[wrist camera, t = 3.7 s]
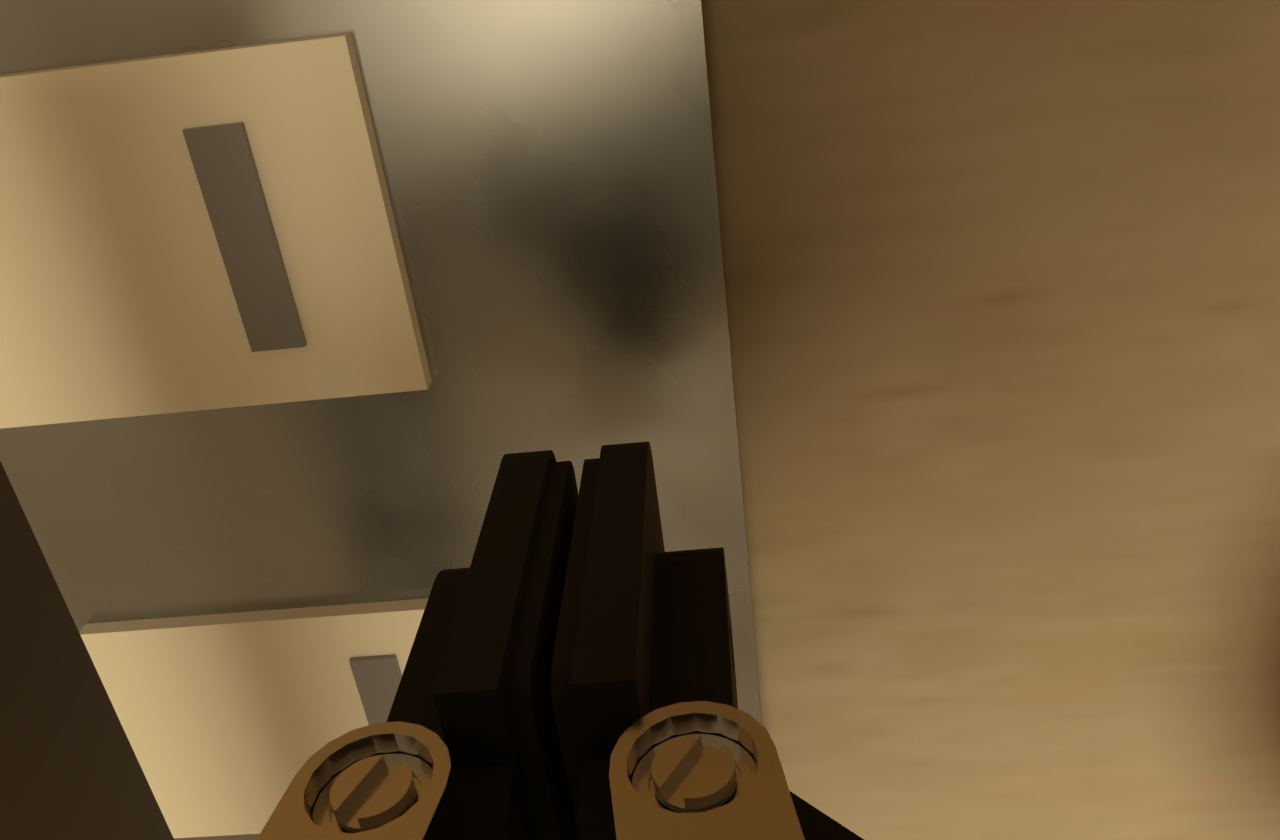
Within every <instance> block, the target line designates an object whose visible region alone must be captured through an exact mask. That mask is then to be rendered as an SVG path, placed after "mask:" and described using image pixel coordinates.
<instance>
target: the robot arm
mask: <svg viewBox="0 0 1280 840" xmlns="http://www.w3.org/2000/svg"><path fill="white" fill-rule="evenodd" d="M256 840H864V839H862V838H860V837H859V836H857V835H856V834H854V833H853V832H851V831H850V830H848V829H847V828H845V827H844V826H842V825H841V824H839V823H838V822H836V821H834V820H833V819H831V818H830V817H828V816H827V815H825V814H824V813H822V812H821V811H819V810H818V809H816V808H815V807H813V806H812V805H810V804H808V803H807V802H805V801H804V800H802V799H801V798H799V797H798V796H796V795H795V794H793V793H792V792H790V791H789V788H788V785H787V782H786V779H785V775H784V772H783V769H782V766H781V763H780V760H779V757H778V753H777V750H776V747H775V745H774V743H773V741H772V739H771V737H770V736H769V734H768V732H767V730H766V728H765V727H764V726H762V725H761V724H760V723H759V722H758V721H757V720H755V719H754V718H753V717H752V716H751V715H750V714H748V713H746V712H743V711H741V710H739V709H738V701H737V687H736V673H735V660H734V648H733V636H732V625H731V614H730V604H729V594H728V584H727V574H726V564H725V555H724V548H723V547H720V548H708V549H695V550H683V551H670V552H665V549H664V542H663V534H662V526H661V519H660V511H659V503H658V496H657V488H656V480H655V473H654V465H653V458H652V451H651V446H650V443H649V441H647V442H635V443H624V444H613V445H603V446H602V447H601V452H600V458H595V459H585V460H584V463H583V470H582V476H581V482H580V488H579V495H578V489H577V483H576V477H575V472H574V467H573V464H572V462H571V461H560V462H556V458H555V455H554V453H553V451H552V450H545V451H534V452H523V453H511V454H504V456H503V458H502V460H501V464H500V467H499V471H498V474H497V477H496V481H495V484H494V487H493V491H492V494H491V498H490V501H489V504H488V508H487V511H486V514H485V518H484V521H483V525H482V528H481V531H480V535H479V538H478V541H477V545H476V548H475V552H474V555H473V558H472V562H471V565H470V568H457V569H444V570H442V571H440V572H439V573H438V575H437V577H436V579H435V581H434V583H433V586H432V589H431V592H430V595H429V598H428V601H427V604H426V607H425V610H424V613H423V616H422V619H421V622H420V625H419V628H418V631H417V634H416V636H415V639H414V642H413V645H412V648H411V651H410V654H409V657H408V660H407V663H406V666H405V669H404V672H403V675H402V678H401V681H400V684H399V687H398V689H397V692H396V695H395V698H394V701H393V704H392V707H391V710H390V713H389V716H388V719H387V722H384V723H375V724H372V725H368V726H365V727H361V728H358V729H354V730H351V731H350V732H348V733H346V734H344V735H342V736H340V737H338V738H336V739H334V740H332V741H330V742H329V743H327V744H326V745H325V746H324V747H322V748H321V749H320V750H318V751H317V752H316V753H315V754H313V755H312V756H311V757H310V758H309V759H308V760H307V761H306V763H305V764H304V765H303V766H302V768H301V769H300V770H299V771H298V773H297V774H296V775H295V776H294V778H293V780H292V781H291V783H290V785H289V786H288V788H287V790H286V791H285V793H284V795H283V796H282V798H281V800H280V801H279V803H278V805H277V806H276V808H275V810H274V811H273V813H272V815H271V816H270V818H269V820H268V821H267V823H266V825H265V826H264V828H263V830H262V831H261V833H260V835H259V836H258V838H257V839H256Z"/></svg>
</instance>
